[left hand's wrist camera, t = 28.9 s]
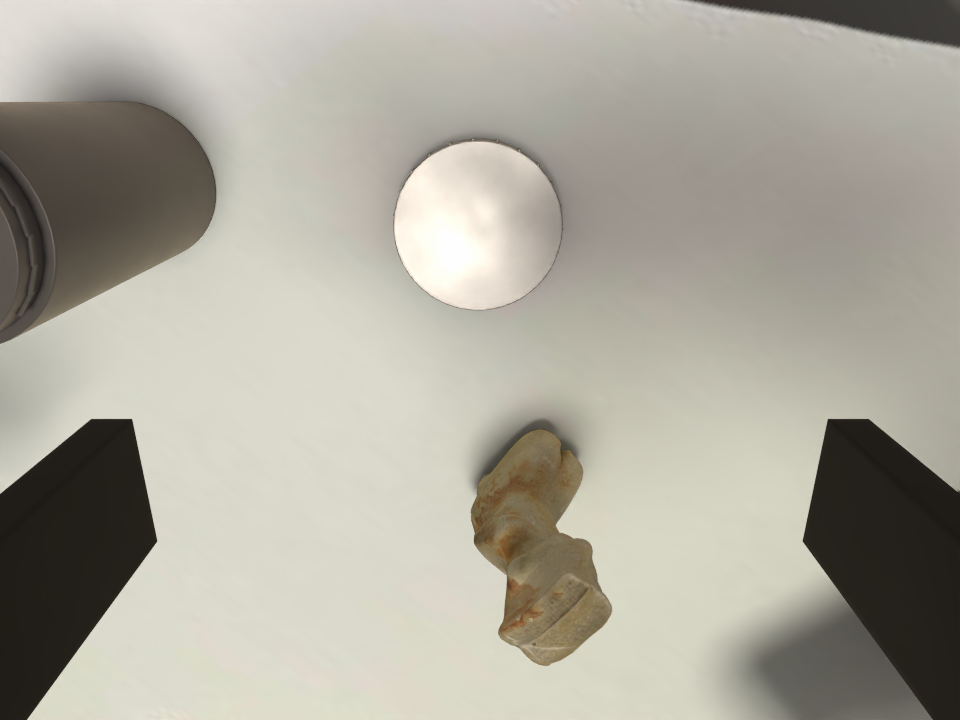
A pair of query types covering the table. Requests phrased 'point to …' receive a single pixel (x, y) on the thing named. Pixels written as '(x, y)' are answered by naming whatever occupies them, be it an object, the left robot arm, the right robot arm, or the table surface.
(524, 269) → the lid
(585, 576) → the sculpture
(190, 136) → the jar
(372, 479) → the table surface
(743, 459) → the table surface
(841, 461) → the left robot arm
